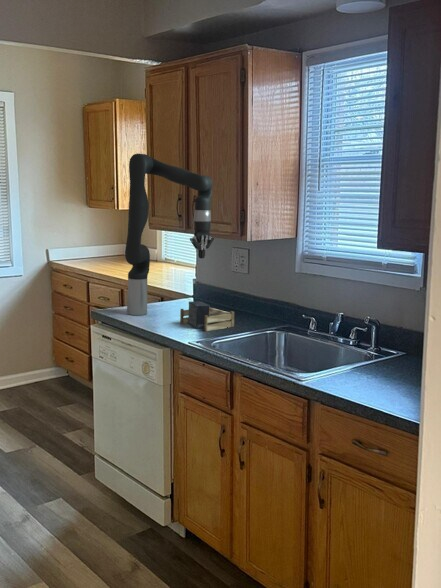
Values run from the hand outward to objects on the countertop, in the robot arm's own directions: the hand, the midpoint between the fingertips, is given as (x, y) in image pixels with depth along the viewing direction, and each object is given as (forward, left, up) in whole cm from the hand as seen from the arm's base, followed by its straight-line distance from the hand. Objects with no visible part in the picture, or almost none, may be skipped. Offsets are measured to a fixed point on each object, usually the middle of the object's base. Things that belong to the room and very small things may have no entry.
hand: (201, 258), depth 292 cm
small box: (+9, -9, -29) cm, 32 cm away
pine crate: (+10, -5, -29) cm, 31 cm away
